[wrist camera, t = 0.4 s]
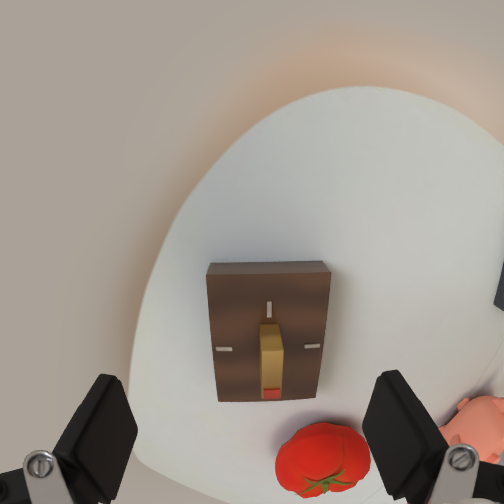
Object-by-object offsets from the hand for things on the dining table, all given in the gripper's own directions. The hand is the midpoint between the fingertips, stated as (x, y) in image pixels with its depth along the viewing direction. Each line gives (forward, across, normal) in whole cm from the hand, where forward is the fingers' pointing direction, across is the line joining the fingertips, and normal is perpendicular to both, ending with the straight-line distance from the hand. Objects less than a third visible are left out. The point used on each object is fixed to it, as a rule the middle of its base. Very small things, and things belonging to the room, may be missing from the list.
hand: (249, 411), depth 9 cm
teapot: (+18, -39, +30) cm, 52 cm away
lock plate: (+17, -2, +7) cm, 19 cm away
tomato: (+18, -9, +26) cm, 33 cm away
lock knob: (+14, -2, +7) cm, 16 cm away
